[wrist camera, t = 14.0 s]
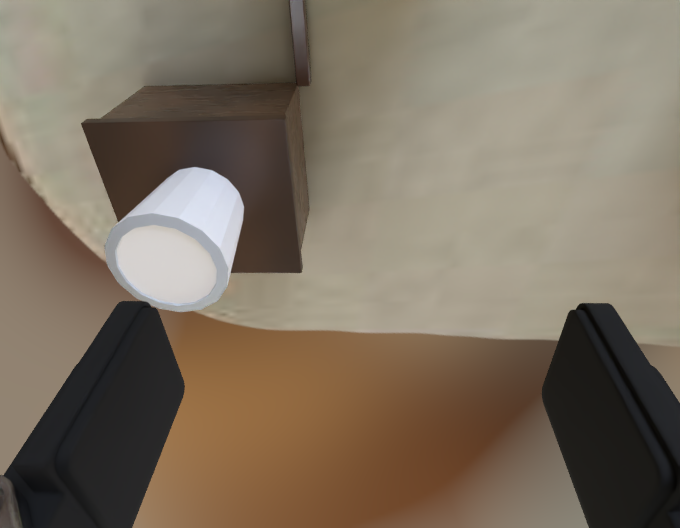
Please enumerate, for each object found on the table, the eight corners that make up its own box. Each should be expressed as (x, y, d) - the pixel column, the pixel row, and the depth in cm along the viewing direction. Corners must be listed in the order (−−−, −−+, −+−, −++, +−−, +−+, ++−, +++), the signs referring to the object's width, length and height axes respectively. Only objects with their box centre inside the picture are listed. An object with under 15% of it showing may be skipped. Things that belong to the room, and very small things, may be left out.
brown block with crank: (290, -210, 25) (260, -263, 18) (320, 212, 41) (310, 273, 34) (56, -195, 26) (-63, -240, 19) (174, 213, 42) (134, 273, 35)
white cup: (246, 158, 29) (217, 216, 23) (258, 248, 33) (236, 315, 27) (139, 156, 29) (85, 212, 23) (164, 246, 33) (123, 311, 28)
